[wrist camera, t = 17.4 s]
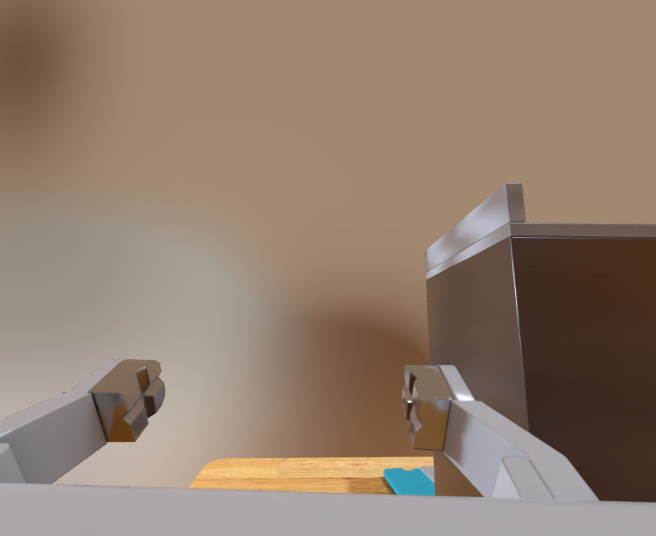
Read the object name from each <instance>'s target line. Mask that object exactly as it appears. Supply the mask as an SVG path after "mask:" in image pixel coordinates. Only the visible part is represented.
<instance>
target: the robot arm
mask: <svg viewBox="0 0 656 536" xmlns="http://www.w3.org/2000/svg"><path fill="white" fill-rule="evenodd" d="M160 373H161V368H160V364H159V362H157V361H155V360H132V359H127V360H125V359H110V360H107V361H106V362H104V363H103V364H102V365H101V366H100V367H98V368H97V369H96V370H95V371H94V372H93V373H91V374H90V375H89V376H88V377H87V378H85V379H84V380H83V381H82V382H81V383H79V384H78V385H77V386H76V387H75V388H74V389H72V390H71V391H70V392H63V393H61V394H59V395H57V396H54V397H52V398H50V399H48V400H45V401H43V402H41V403H38V404H36V405H34V406H32V407H29V408H27V409H25V410H22V411H20V412H18V413H15V414H13V415H11V416H9V417H6V418H4V419H2V420H0V536H656V502H624V501H599V499H598V498H597V497H596V495H595V494H594V493H593V491H592V490H591V489H590V488H589V486H588V485H587V484H586V482H585V481H584V480H583V479H582V477H581V476H580V475H579V473H578V472H577V471H576V469H575V468H574V467H573V466H572V464H571V463H570V462H569V460H568V459H567V458H566V457H565V456H564V455H562V454H561V453H559V452H558V451H556V450H555V449H553V448H552V447H550V446H549V445H547V444H545V443H544V442H542V441H541V440H539V439H538V438H536V437H535V436H533V435H532V434H530V433H529V432H527V431H526V430H524V429H522V428H521V427H519V426H518V425H516V424H515V423H513V422H512V421H510V420H509V419H507V418H506V417H504V416H503V415H501V414H500V413H498V412H496V411H495V410H493V409H492V408H490V407H489V406H487V405H486V404H484V403H483V402H481V401H475V399H474V397H473V396H472V394H471V392H470V391H469V389H468V387H467V385H466V384H465V382H464V380H463V379H462V377H461V375H460V374H459V372H458V370H457V369H456V367H455V366H454V365H437V366H432V365H429V366H428V365H422V366H421V365H406V367H405V372H404V377H405V381H406V385H405V386H404V387H403V394H402V398H403V410H404V414H405V418H406V419H407V420H408V421H409V433H410V437H411V441H412V444H413V448H414V449H418V450H436V451H443V453H444V454H445V455H446V456H447V457H448V458H449V459H450V460H451V461H452V463H453V464H454V465H455V466H456V467H457V468H458V469H459V470H460V471H461V472H462V473H463V474H464V476H465V477H466V478H467V479H468V480H469V481H470V482H471V483H472V484H473V485H474V486H475V487H476V489H477V490H478V491H479V492H480V493H481V494H482V495H483V496H484V497H460V496H426V495H390V494H357V493H327V492H296V491H264V490H230V489H197V488H162V487H130V486H93V485H64V484H52V483H53V482H55V481H56V480H57V479H59V478H60V477H61V476H63V475H64V474H66V473H67V472H68V471H70V470H71V469H73V468H74V467H75V466H77V465H78V464H79V463H81V462H82V461H84V460H85V459H86V458H88V457H89V456H91V455H92V454H93V453H95V452H96V451H97V450H99V449H100V448H102V447H103V446H104V445H105V444H107V442H135V441H136V440H137V439H138V437H139V436H140V435H141V433H142V432H143V431H144V429H145V428H146V427H147V425H148V418H149V417H150V416H152V415H154V414H155V413H156V412H157V411H158V410H159V408H160V407H161V406H162V403H163V400H164V397H165V387H164V382H163V381H162V380H161V379H160V378H159V377H158V376H159V374H160Z"/></svg>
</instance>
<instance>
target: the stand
mask: <svg viewBox="0 0 656 536" xmlns="http://www.w3.org/2000/svg"><path fill="white" fill-rule="evenodd" d="M525 222H526V217H525V208H524V199H523V189H522V184H521V183H505V184H504V185H503V186H502V187H501V188H499V189H498V190H497V191H496V192H495V193H493V194H492V195H491V196H490V197H489V198H487V199H486V200H485V201H484V202H483V203H482V204H480V205H479V206H478V207H477V208H476V209H474V210H473V211H472V212H471V213H470V214H468V215H467V216H466V217H465V218H464V219H462V220H461V221H460V222H459V223H458V224H457V225H455V226H454V227H453V228H452V229H451V230H449V231H448V232H447V233H446V234H445V235H443V236H442V237H441V238H440V239H439V240H438V241H437V242H435V243H434V244H433V245H432V246H430V247H429V248H428V249H427V250H426V251H425V258H426V259H425V260H426V280H427V281H426V284H427V308H428V333H429V357H430V365H432V366H437V365H454V366H455V367H456V369H457V370H458V372H459V374H460V375H461V377H462V379H463V380H464V382H465V384H466V385H467V387H468V389H469V391H470V392H471V394H472V396H473V397H474V399H475V401H481V402H483V403H484V404H486V405H487V406H489V407H490V408H492V409H493V410H495V411H496V412H498V413H500V414H501V415H503V416H504V417H506V418H507V419H509V420H510V421H512V422H513V423H515V424H516V425H518V426H519V427H521V428H522V429H524V430H526V431H527V432H529V433H530V434H532V435H533V436H535V437H536V438H538V439H539V440H541V441H542V442H544V443H545V444H547V445H549V446H550V447H552V448H553V449H555V450H556V451H558V452H559V453H561V454H562V455H564V456H565V457H566V458H567V459H568V460H569V462H570V463H571V464H572V466H573V467H574V468H575V469H576V471H577V472H578V473H579V475H580V476H581V477H582V479H583V480H584V481H585V482H586V484H587V485H588V486H589V488H590V489H591V490H592V491H593V493H594V494H595V495H596V497H597V498H598V499H599V501H624V502H656V224H579V223H575V224H574V223H525ZM433 453H434V479H435V496H460V497H484V496H483V495H482V494H481V493H480V492H479V491H478V490H477V489H476V487H475V486H474V485H473V484H472V483H471V482H470V481H469V480H468V479H467V478H466V477H465V476H464V474H463V473H462V472H461V471H460V470H459V469H458V468H457V467H456V466H455V465H454V464H453V463H452V461H451V460H450V459H449V458H448V457H447V456H446V455H445V454H444V453H443V451H436V450H433Z"/></svg>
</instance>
